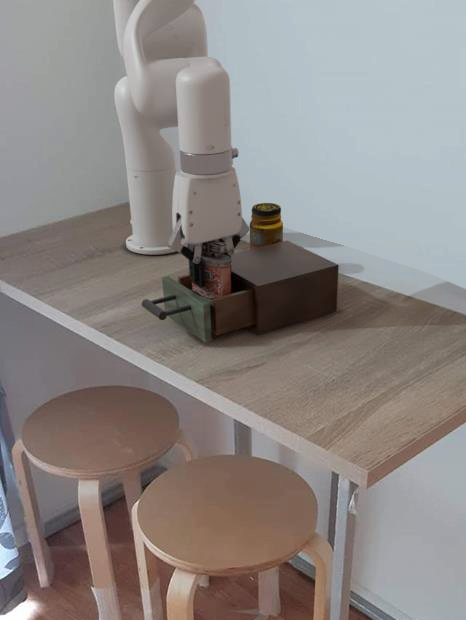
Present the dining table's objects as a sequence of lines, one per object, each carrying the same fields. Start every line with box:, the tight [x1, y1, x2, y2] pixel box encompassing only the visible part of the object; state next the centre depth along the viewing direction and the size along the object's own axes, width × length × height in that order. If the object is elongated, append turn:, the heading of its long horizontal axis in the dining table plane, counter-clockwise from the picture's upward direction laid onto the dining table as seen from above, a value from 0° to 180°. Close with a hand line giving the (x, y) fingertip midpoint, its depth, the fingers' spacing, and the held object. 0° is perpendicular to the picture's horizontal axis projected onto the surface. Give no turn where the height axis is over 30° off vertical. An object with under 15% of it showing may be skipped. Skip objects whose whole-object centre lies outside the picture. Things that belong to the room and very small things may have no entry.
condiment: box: [249, 202, 284, 250], centre depth 149 cm, size 7×8×12 cm
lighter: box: [191, 240, 232, 306], centre depth 129 cm, size 8×3×10 cm, turn 47°
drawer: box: [141, 273, 256, 343], centre depth 132 cm, size 20×13×6 cm, turn 122°
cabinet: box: [231, 240, 340, 335], centre depth 137 cm, size 16×15×8 cm
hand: (210, 280), depth 130 cm, fingers closed on lighter, 4 cm apart
